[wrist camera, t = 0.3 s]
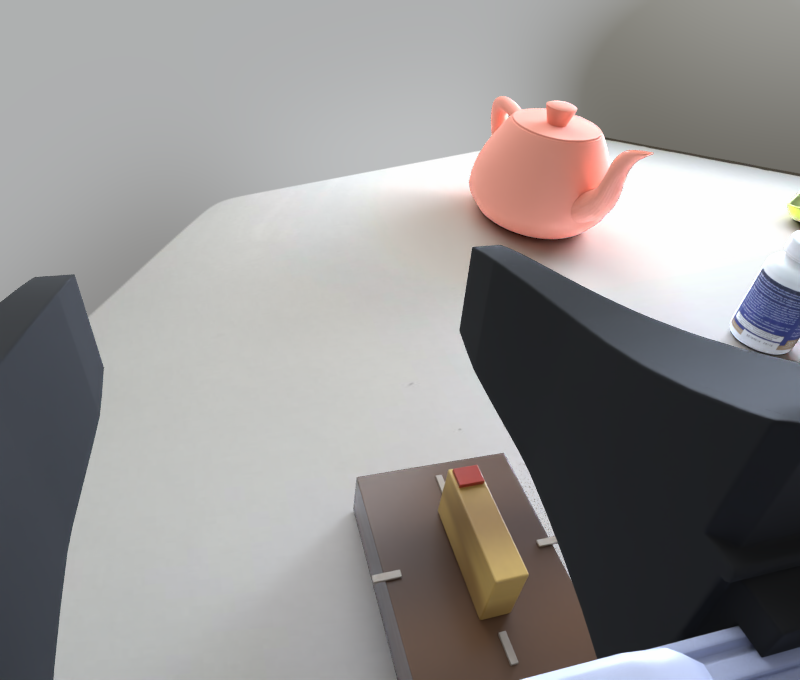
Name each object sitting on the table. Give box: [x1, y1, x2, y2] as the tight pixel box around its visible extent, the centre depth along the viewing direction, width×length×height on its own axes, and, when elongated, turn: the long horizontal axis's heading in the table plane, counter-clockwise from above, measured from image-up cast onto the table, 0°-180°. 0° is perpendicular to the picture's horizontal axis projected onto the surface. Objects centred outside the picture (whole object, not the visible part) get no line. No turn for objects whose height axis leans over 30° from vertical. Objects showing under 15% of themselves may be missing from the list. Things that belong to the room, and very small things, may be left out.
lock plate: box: [353, 453, 597, 680], centre depth 30 cm, size 12×10×3 cm
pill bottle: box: [729, 231, 800, 355], centre depth 49 cm, size 5×5×10 cm
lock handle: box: [438, 465, 529, 620], centre depth 28 cm, size 6×2×4 cm, turn 16°
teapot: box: [469, 96, 654, 239], centre depth 62 cm, size 22×15×12 cm
